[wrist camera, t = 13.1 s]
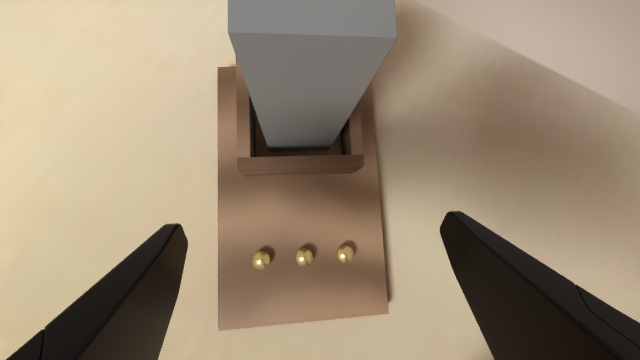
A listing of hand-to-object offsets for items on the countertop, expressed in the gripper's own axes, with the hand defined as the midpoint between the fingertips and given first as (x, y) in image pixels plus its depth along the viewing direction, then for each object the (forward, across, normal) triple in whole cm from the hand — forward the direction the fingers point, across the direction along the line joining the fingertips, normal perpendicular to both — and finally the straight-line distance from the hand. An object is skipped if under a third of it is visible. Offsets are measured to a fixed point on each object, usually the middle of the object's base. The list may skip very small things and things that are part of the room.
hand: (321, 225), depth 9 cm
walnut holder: (+10, 0, +6) cm, 12 cm away
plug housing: (+13, 0, +2) cm, 13 cm away
